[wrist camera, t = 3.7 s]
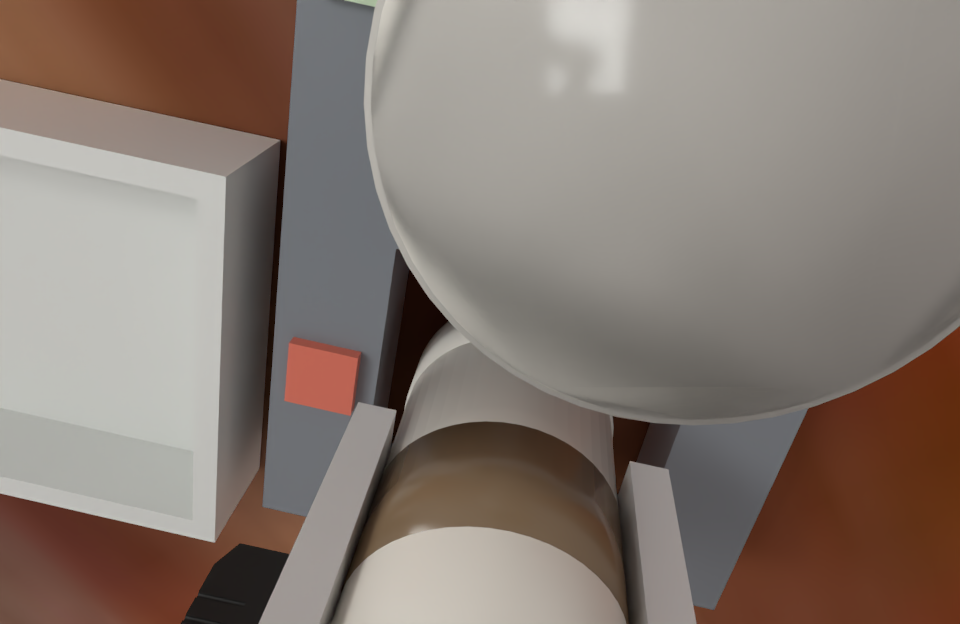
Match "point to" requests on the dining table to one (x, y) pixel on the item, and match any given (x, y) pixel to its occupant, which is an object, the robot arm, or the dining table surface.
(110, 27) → the dining table surface
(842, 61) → the fuse
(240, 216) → the parts tray
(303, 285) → the fuse panel
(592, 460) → the fuse
